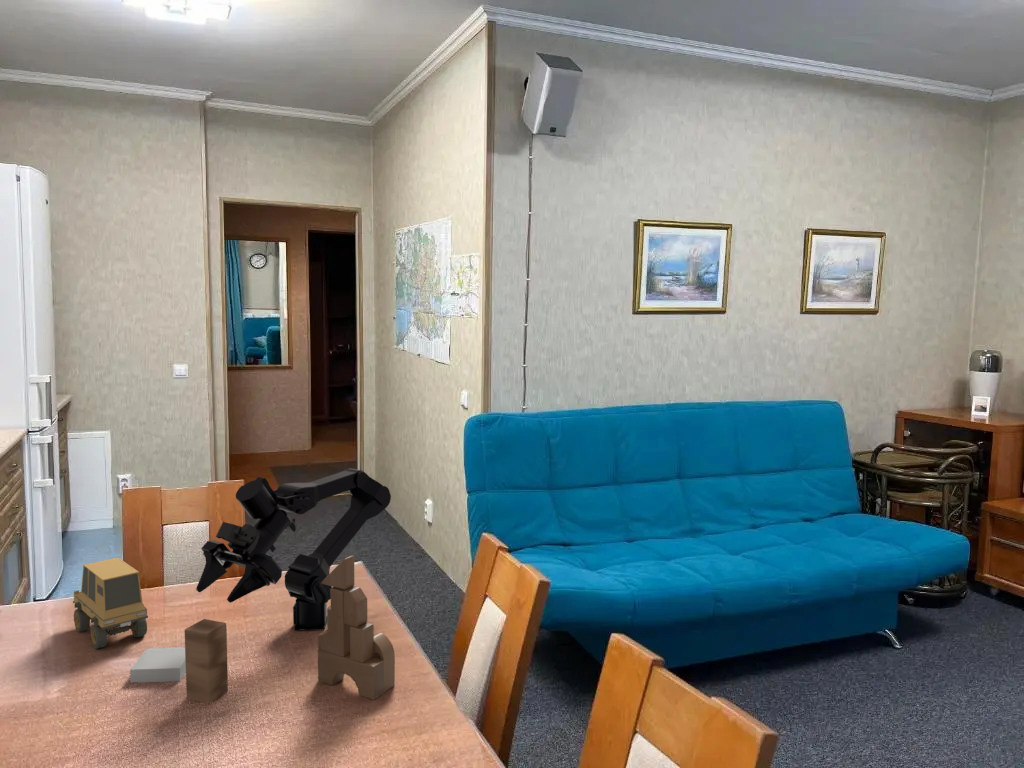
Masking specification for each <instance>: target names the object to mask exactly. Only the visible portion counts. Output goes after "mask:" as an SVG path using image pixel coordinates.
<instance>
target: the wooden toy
mask: <svg viewBox="0 0 1024 768" xmlns="http://www.w3.org/2000/svg"><path fill="white" fill-rule="evenodd" d="M322 584H324V585H328V586H331V587H332V588H331V589H330V594H331V599H330V605H329V606H328V607H327V623H326V629H327V630H325V631H323V632H321V633H319V634H317V648H318V649H317V679H318V682H321V683H323V684H326V685H329V686H334V685H336V684H337V683H339V682H341V681H343V680H344V676H345V675H346V676H348V677H350V678H351V679H352V681H353V682H355V683H354V684H355V685H356V688H357V692H358V696H360V697H362V698H366V699H370V700H372V701H374V700H376V699H378V698H379V697H381V696H382V695H384V694H385V692H386V691H388V690H390V689H392V688H393V687H394V686H396V685H395V680H396V676H395V675H396V674H395V673H396V669H395V668H396V662H395V661H396V659H395V658H396V656H395V650H394V645H393V643H392V641H391V640H390V639H389V638H388V637H387V635H385V633H383V632H379V633H377V634H376V635H374V631H375V630H374V627H375V626H374V624H373V623H371V622H368V598H367V595H366V594H365V593H364V591H363V589H362V588H361V586H357V585H355V556H354V555H350V556H347V557H345V558H343V560H342V561H341V562H340V563H338V564H337V565H336V566H335V568H333V570H332V571H330V572H329V575H328V576H327V577H326V578H325V579H324V580H323V581H322Z"/></svg>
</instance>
